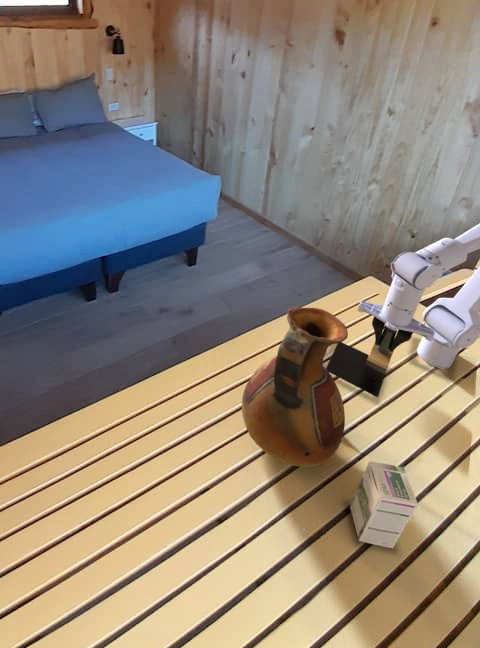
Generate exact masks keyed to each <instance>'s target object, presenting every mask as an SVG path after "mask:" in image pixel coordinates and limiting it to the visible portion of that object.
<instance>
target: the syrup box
mask: <svg viewBox="0 0 480 648" xmlns="http://www.w3.org/2000/svg"><path fill="white" fill-rule="evenodd" d="M415 495H416V494H415V493H414V490H413V488H412V485H411V483H410V480H409V478H408V475H407V472H406V469H405V467H402V466H397V465H393V464H389V463H382V462H377V461H376V462H374V461H368V463H367V465H366V467H365V470H364V472H363V475H362V476H361V479H360V481H359V483H358V485H357V488H356V489H355V492H354V495H353V497H352V499H351V501H350V504H349V509H350V513H351V516H352V520H353V524H354V528H355V532H356V536H357V540H358V541H359V542H361V543H366V544H371V545H375V546H378V547H379V546H380V547H385V548H389V549H394V547H395V545H396V544H397V542H398V540H399V538H400V537H401V535H402V533H403V531H404V530H405V528H406V527H407V525H408V523H409V521H410V520H411V518H412V516H413V515H414V513H415V511H416V509H417V508H418V507H419V503H418V501H417V498H416V496H415Z"/></svg>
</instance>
